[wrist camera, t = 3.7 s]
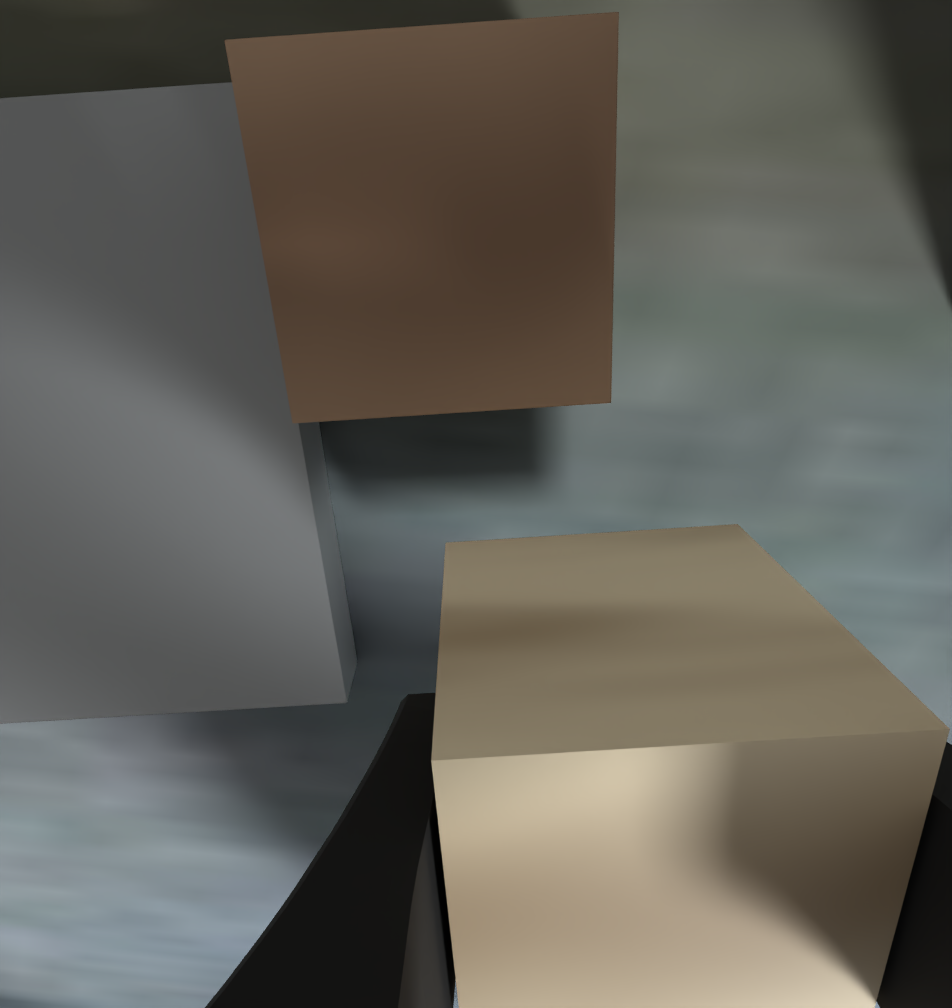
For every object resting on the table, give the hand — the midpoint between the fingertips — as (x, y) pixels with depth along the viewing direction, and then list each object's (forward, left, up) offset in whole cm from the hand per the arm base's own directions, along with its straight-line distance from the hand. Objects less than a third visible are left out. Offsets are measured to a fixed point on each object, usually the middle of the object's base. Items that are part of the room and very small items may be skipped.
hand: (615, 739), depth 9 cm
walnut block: (+7, +2, -6) cm, 9 cm away
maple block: (0, 0, -2) cm, 2 cm away
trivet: (+3, +11, -6) cm, 13 cm away
